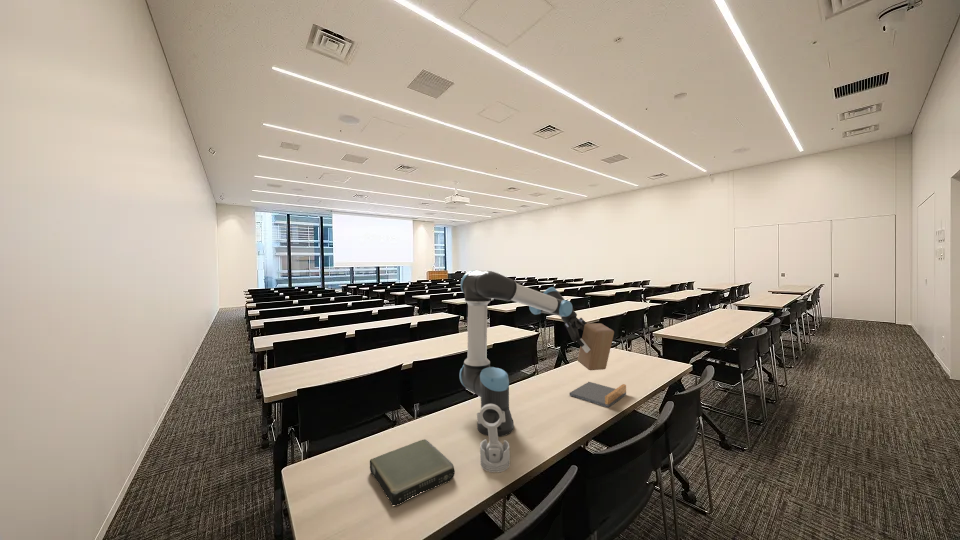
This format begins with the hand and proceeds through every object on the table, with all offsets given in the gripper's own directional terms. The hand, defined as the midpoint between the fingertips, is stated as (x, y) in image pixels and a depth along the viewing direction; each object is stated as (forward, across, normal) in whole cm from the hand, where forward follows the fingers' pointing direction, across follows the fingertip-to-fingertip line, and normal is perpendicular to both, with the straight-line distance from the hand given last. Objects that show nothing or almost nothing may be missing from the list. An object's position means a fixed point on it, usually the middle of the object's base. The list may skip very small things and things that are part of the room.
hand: (595, 348), depth 160 cm
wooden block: (+5, 0, -8) cm, 9 cm away
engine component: (+16, +69, -19) cm, 73 cm away
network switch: (+6, +92, -30) cm, 97 cm away
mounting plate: (+16, -7, -20) cm, 27 cm away
